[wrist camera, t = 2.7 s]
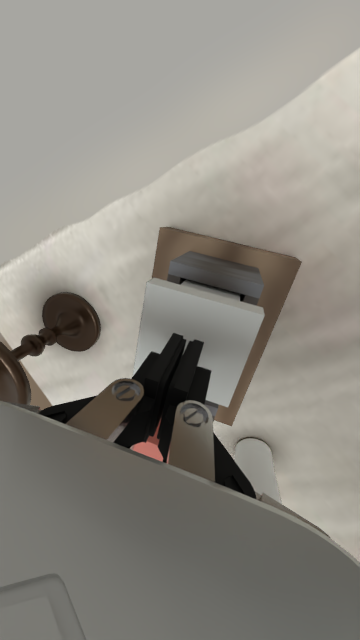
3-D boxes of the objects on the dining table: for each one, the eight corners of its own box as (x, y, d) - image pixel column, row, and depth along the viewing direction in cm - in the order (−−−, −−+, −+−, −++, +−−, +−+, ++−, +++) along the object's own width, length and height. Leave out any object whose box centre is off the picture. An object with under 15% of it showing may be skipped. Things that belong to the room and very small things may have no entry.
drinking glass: (223, 436, 36) (211, 564, 22) (266, 428, 33) (282, 567, 20) (240, 467, 37) (239, 604, 24) (283, 462, 35) (309, 612, 21)
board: (295, 257, 24) (325, 277, 15) (232, 409, 33) (228, 477, 25) (168, 227, 26) (129, 229, 17) (142, 378, 35) (108, 431, 27)
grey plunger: (256, 279, 19) (264, 315, 12) (233, 345, 22) (227, 407, 14) (182, 260, 20) (146, 282, 13) (168, 325, 23) (133, 374, 15)
